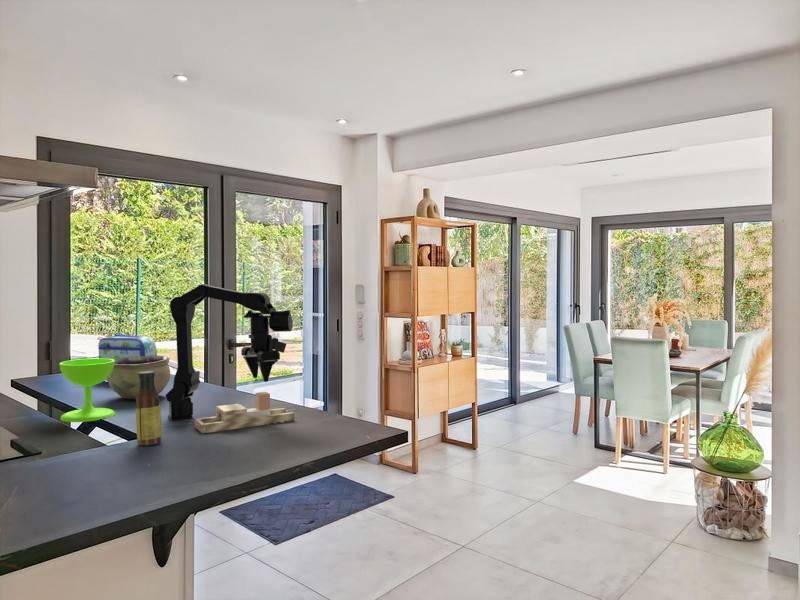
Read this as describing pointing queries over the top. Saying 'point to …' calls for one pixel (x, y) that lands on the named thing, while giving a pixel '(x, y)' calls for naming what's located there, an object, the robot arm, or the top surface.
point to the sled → (259, 406)
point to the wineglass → (87, 386)
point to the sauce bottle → (148, 411)
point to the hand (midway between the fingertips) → (260, 379)
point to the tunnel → (239, 418)
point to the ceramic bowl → (127, 374)
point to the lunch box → (126, 347)
